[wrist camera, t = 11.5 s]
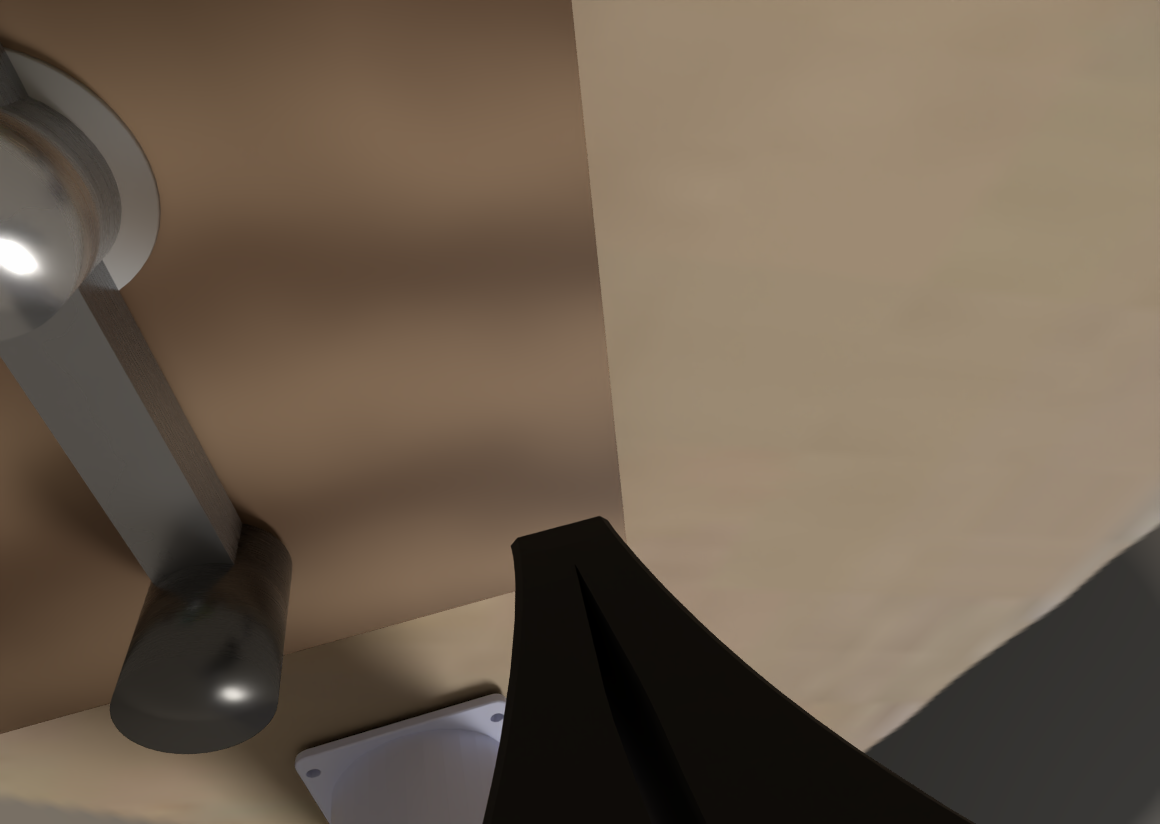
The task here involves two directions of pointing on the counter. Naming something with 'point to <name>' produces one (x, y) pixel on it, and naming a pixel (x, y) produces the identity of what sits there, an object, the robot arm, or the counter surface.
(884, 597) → the counter surface
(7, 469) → the board
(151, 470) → the lever
